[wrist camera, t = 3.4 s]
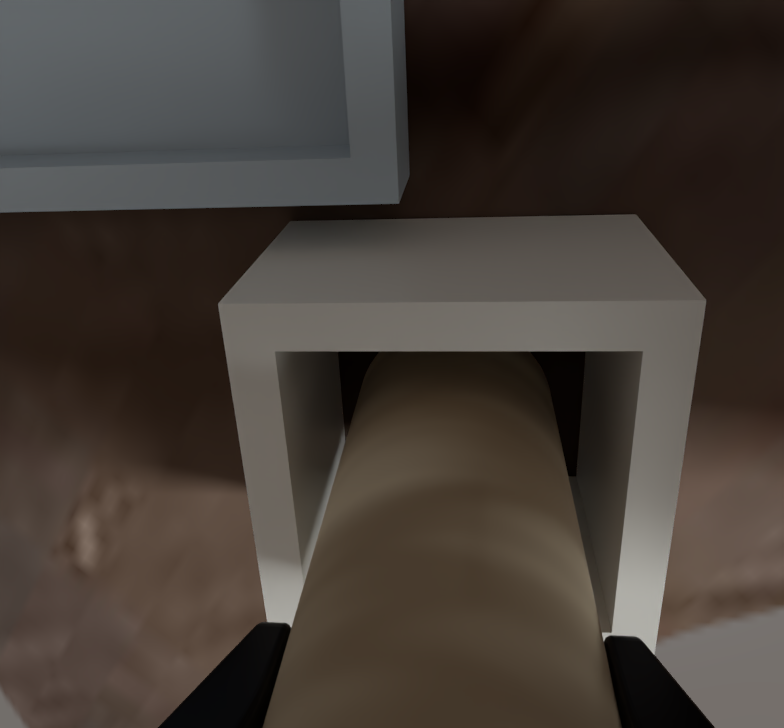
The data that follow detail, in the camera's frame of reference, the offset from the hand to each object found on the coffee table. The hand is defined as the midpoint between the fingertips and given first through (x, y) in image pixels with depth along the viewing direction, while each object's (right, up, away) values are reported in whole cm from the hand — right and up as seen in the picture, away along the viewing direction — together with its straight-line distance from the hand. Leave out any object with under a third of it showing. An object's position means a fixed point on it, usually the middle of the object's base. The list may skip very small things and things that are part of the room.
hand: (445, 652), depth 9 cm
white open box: (+1, +4, +7) cm, 8 cm away
